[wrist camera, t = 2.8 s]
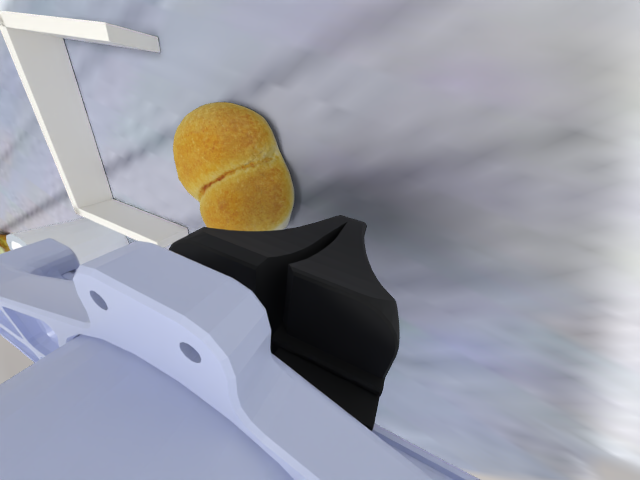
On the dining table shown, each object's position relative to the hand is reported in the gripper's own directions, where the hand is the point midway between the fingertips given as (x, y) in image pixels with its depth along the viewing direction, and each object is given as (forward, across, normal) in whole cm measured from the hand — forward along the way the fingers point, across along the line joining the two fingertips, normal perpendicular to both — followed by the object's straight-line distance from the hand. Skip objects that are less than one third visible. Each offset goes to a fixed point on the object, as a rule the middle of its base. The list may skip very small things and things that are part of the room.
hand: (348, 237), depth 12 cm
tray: (+4, +20, 0) cm, 21 cm away
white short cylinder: (+4, +28, +12) cm, 31 cm away
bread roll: (+4, +9, 0) cm, 10 cm away
